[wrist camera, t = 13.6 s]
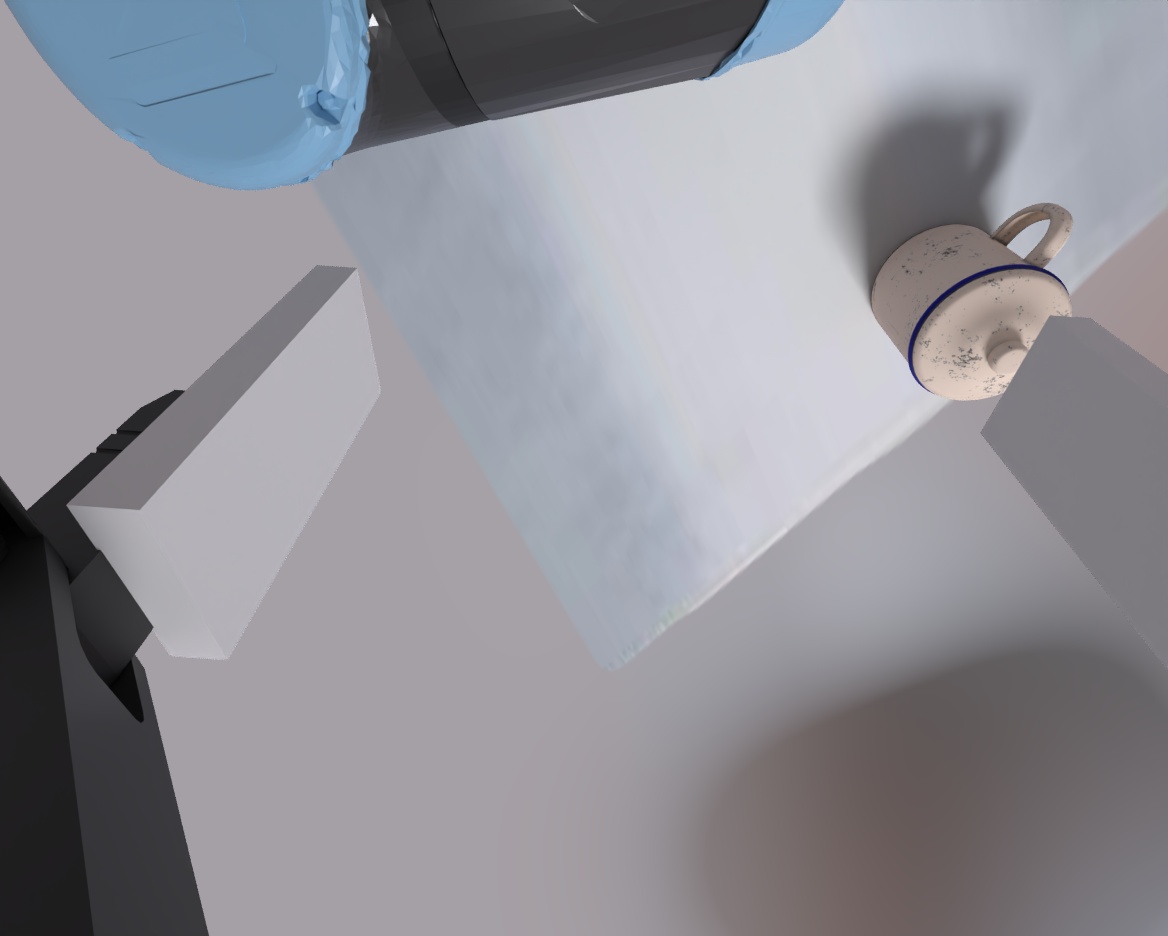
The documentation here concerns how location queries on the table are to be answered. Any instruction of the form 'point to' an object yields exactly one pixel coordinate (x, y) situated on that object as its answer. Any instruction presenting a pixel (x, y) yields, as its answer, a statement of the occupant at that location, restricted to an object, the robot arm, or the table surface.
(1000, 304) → the teacup with lid
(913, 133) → the table surface
